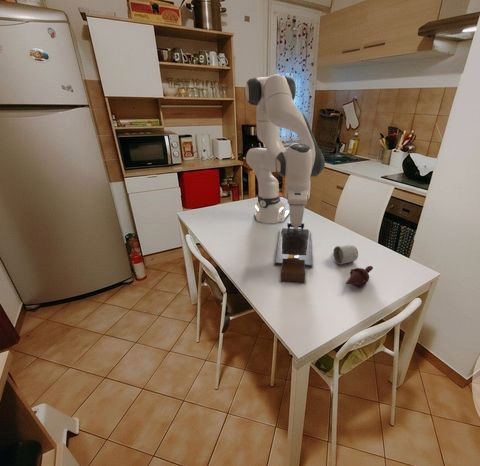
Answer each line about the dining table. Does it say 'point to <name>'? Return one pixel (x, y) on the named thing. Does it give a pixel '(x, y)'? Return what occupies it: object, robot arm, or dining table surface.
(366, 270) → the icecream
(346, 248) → the ceramic mug
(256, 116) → the robot arm
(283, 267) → the dark brown block
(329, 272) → the dining table surface
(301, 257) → the tray
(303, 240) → the tip dish
